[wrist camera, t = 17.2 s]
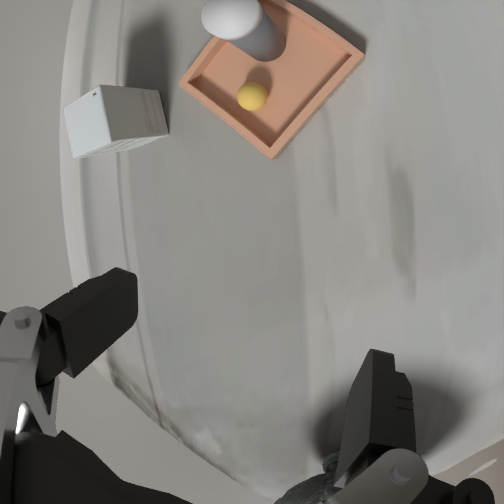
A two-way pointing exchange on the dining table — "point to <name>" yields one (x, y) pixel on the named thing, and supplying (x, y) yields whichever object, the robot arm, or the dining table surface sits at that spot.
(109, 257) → the dining table surface
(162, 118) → the supplement box
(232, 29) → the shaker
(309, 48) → the tray
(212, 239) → the dining table surface
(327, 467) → the decorative bowl
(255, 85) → the ball
